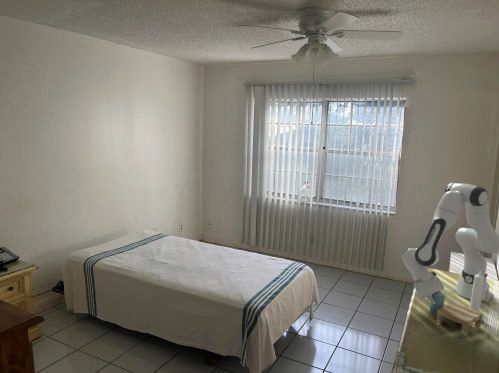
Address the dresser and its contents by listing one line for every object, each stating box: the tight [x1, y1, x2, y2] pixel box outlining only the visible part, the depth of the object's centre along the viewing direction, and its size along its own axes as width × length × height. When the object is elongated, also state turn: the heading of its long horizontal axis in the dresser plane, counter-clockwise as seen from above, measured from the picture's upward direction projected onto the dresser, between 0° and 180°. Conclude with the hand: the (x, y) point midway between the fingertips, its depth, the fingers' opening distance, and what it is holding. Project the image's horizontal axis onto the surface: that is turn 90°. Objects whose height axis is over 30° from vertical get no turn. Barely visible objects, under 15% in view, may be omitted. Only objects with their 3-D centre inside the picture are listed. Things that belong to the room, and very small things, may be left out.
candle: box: [469, 270, 485, 313], centre depth 195 cm, size 7×7×25 cm
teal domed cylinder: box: [429, 292, 446, 315], centre depth 198 cm, size 6×6×10 cm
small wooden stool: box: [435, 302, 483, 337], centre depth 186 cm, size 16×14×7 cm
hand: (438, 302), depth 197 cm, fingers closed on teal domed cylinder, 6 cm apart
